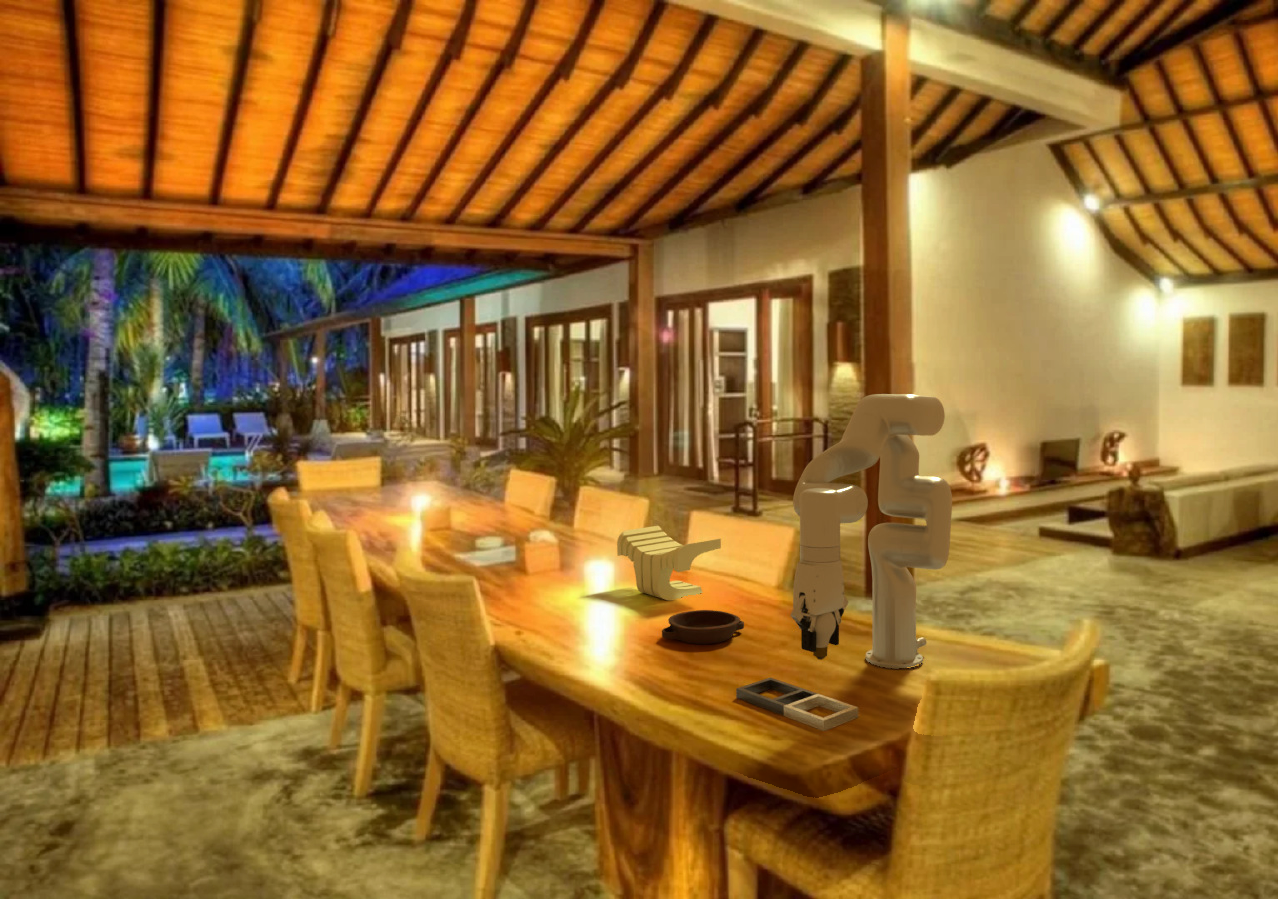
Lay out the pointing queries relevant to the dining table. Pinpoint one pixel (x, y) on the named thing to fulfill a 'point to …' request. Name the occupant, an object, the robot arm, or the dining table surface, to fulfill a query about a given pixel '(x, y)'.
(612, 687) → the dining table surface
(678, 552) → the slatted curved stool
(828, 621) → the light bulb
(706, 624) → the dish
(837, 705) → the rail
